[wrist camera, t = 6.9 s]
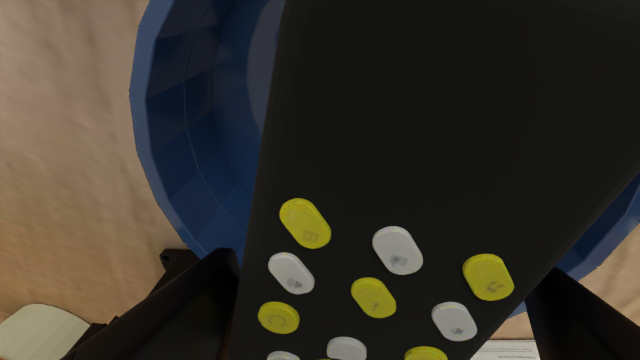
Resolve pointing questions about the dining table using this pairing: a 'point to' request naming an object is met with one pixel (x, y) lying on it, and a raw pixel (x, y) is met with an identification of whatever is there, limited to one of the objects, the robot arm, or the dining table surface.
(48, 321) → the reusable coffee cup
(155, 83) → the pot
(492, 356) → the syrup box
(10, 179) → the dining table surface
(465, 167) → the remote control
